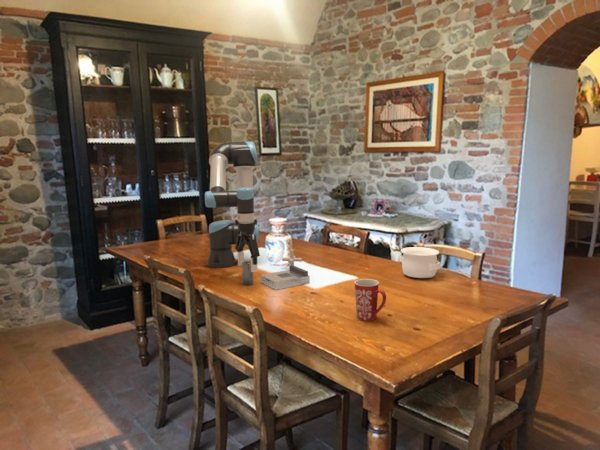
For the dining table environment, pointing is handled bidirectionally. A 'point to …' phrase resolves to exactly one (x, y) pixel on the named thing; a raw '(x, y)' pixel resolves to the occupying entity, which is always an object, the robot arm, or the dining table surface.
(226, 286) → the dining table surface
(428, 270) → the pot
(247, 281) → the dark steel cylinder
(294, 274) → the block
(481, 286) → the dining table surface
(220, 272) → the dining table surface
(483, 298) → the dining table surface
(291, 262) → the tan toy jack
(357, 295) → the mug
